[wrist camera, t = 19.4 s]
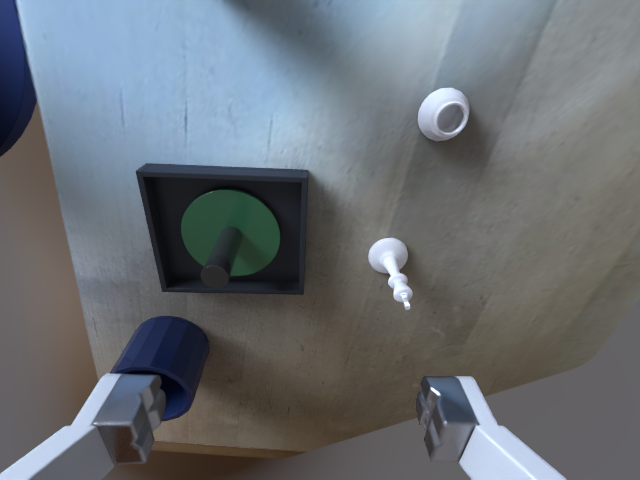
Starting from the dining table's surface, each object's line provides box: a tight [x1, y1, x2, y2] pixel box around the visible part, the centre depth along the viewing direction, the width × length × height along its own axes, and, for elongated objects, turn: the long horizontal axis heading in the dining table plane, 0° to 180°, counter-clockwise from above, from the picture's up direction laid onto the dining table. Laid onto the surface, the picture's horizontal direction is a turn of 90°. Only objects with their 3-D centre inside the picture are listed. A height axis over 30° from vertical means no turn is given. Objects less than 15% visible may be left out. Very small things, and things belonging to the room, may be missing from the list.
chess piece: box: [368, 238, 413, 310], centre depth 39 cm, size 5×5×10 cm
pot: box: [110, 316, 209, 421], centre depth 46 cm, size 10×10×8 cm
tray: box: [136, 164, 308, 295], centre depth 39 cm, size 17×15×3 cm
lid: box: [181, 189, 281, 288], centre depth 36 cm, size 11×11×9 cm
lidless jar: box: [418, 88, 470, 141], centre depth 34 cm, size 5×3×5 cm
